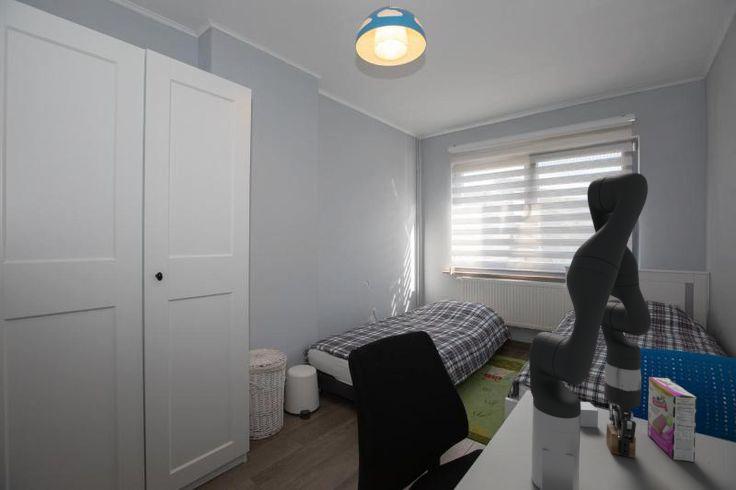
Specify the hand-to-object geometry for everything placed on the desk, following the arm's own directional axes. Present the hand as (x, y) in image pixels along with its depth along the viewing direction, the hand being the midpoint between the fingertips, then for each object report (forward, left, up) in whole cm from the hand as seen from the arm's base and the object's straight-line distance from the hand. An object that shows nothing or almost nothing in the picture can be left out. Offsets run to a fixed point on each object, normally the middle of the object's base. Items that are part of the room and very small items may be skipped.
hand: (620, 447), depth 90 cm
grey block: (+12, +6, -1) cm, 14 cm away
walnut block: (0, 0, 0) cm, 0 cm away
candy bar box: (+6, -12, -1) cm, 13 cm away
